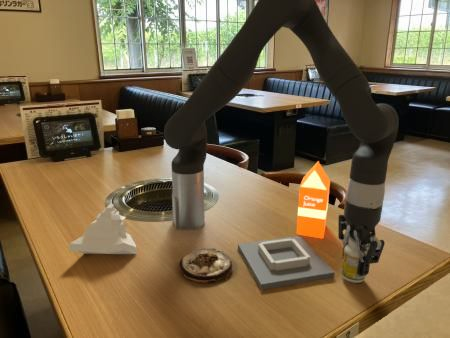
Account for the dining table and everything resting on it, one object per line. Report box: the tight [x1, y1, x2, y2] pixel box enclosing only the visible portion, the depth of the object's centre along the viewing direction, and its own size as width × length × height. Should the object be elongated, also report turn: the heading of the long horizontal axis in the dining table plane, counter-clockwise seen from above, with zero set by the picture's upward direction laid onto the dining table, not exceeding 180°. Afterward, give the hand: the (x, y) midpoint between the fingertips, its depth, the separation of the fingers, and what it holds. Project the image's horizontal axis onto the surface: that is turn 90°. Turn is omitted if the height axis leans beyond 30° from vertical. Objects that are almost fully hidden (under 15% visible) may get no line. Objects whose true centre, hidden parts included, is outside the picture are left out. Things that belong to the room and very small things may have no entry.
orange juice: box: [295, 161, 331, 239], centre depth 105 cm, size 8×9×20 cm
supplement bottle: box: [340, 237, 368, 284], centre depth 83 cm, size 5×5×10 cm
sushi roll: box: [179, 247, 233, 284], centre depth 89 cm, size 15×15×4 cm
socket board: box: [237, 235, 335, 291], centre depth 91 cm, size 18×18×4 cm
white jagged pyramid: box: [68, 202, 138, 255], centre depth 96 cm, size 12×15×14 cm
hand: (354, 267), depth 84 cm, fingers closed on supplement bottle, 5 cm apart
